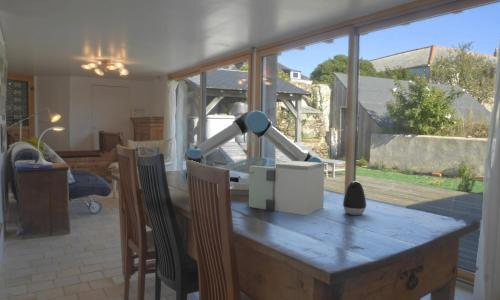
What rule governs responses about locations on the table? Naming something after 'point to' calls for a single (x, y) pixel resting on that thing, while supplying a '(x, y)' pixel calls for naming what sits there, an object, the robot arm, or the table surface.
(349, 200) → the black egg-shaped speaker
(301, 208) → the cabinet
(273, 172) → the clip hinges
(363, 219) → the table surface
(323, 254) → the table surface
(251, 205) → the sage door
